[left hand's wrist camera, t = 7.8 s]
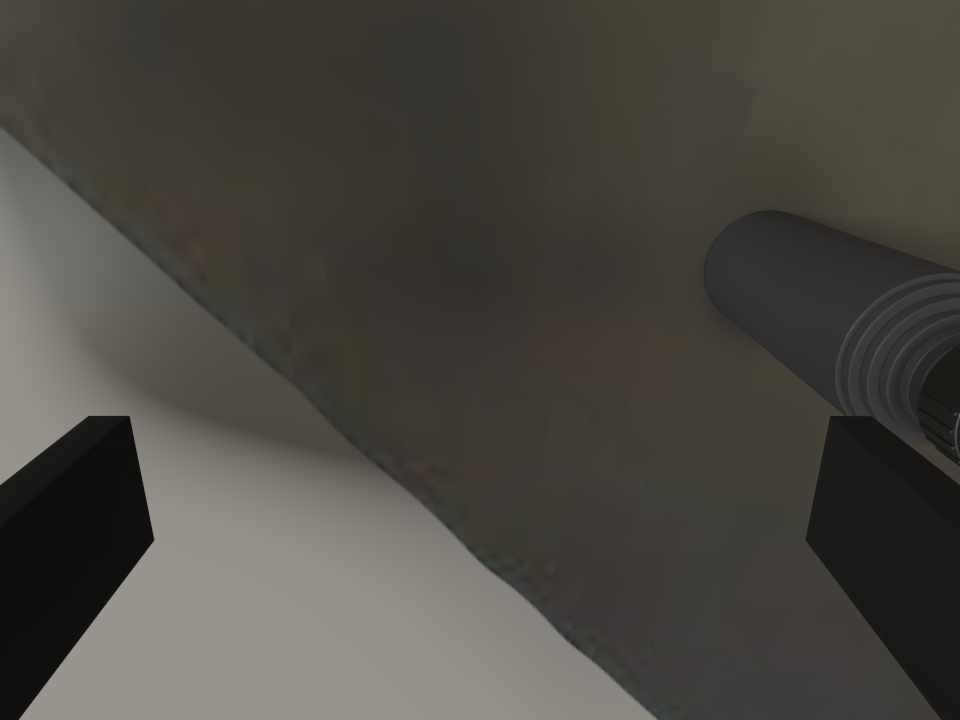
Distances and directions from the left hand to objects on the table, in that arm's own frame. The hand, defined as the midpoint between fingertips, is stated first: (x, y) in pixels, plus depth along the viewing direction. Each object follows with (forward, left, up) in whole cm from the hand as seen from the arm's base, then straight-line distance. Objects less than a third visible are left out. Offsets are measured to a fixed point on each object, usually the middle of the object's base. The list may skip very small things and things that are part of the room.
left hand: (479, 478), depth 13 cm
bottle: (+2, +17, -28) cm, 33 cm away
